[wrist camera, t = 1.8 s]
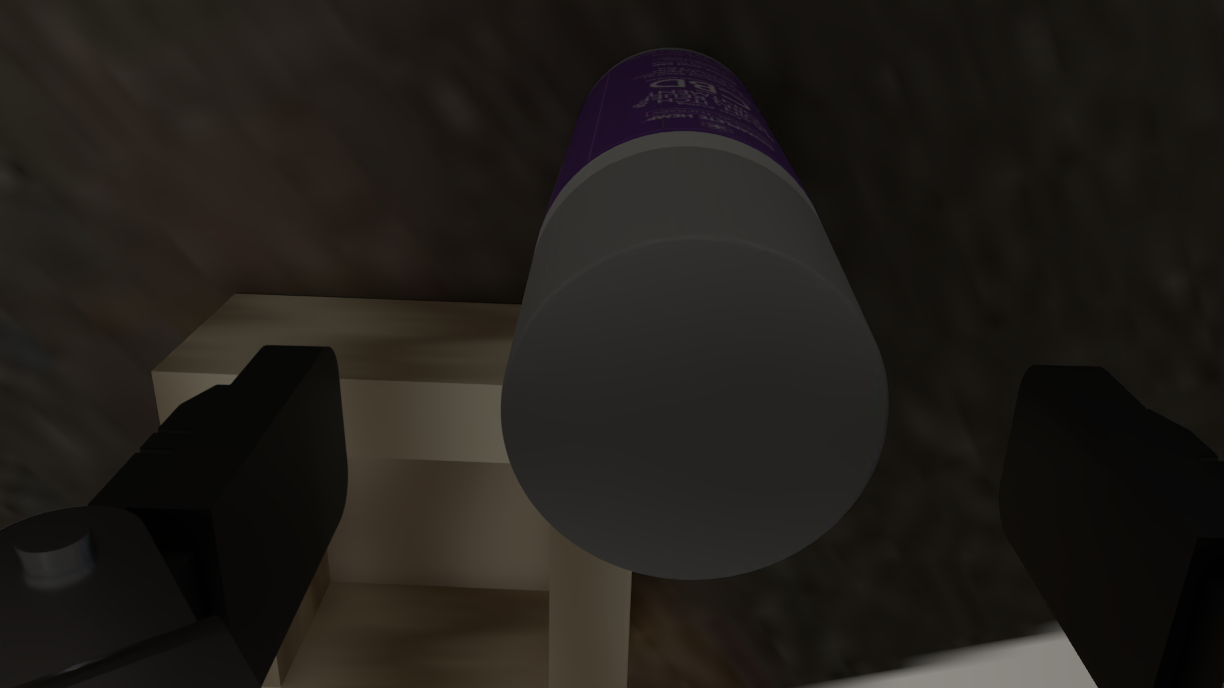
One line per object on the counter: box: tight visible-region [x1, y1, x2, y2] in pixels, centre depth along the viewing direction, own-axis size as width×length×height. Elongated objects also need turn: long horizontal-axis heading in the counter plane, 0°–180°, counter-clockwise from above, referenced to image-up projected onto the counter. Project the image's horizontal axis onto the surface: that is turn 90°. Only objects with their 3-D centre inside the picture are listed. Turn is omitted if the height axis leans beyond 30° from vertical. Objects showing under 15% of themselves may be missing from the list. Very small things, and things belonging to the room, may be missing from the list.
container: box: [501, 48, 889, 580], centre depth 18 cm, size 5×5×15 cm
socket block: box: [151, 294, 632, 688], centre depth 27 cm, size 11×11×5 cm
